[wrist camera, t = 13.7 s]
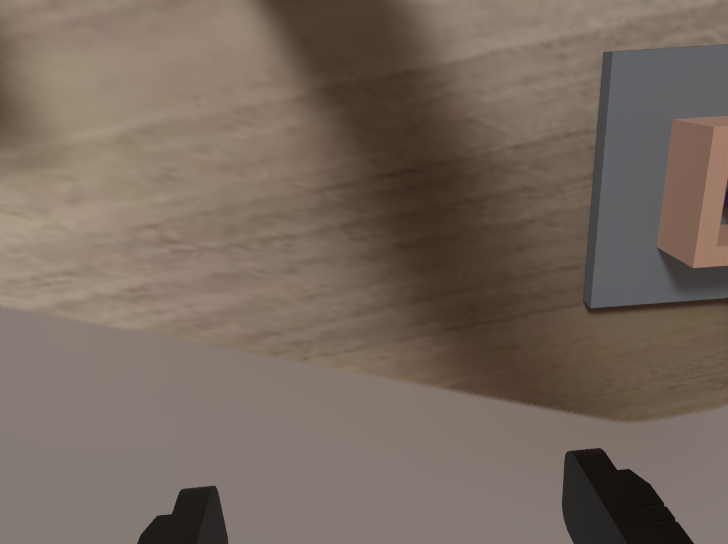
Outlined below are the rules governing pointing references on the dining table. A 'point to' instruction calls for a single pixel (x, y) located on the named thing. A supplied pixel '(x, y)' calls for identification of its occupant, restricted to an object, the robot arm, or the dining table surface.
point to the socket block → (660, 178)
